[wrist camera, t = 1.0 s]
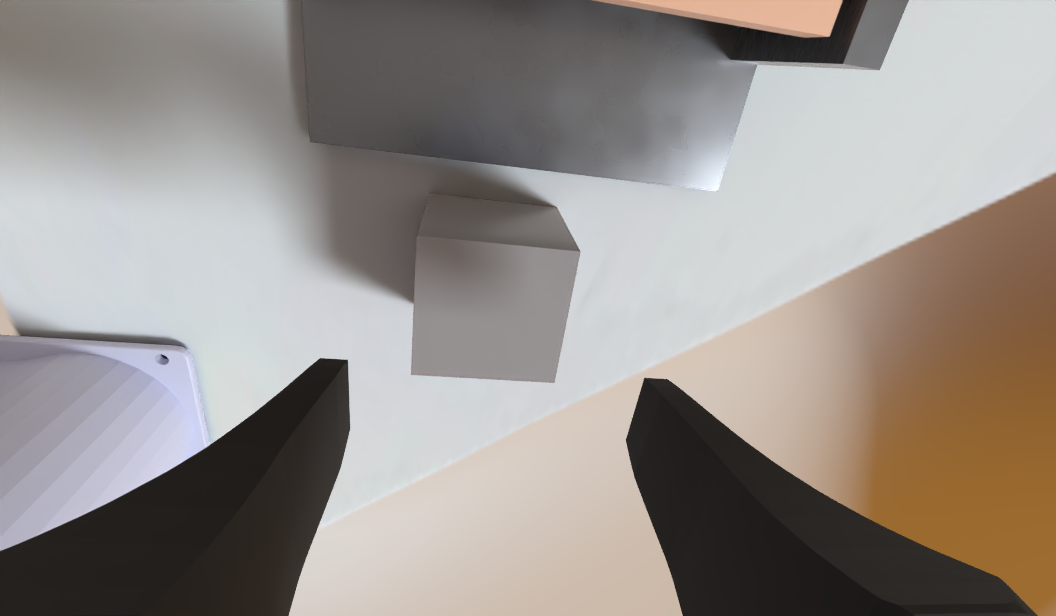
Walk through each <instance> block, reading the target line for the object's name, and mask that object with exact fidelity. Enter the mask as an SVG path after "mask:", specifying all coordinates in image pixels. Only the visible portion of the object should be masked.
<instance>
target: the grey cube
mask: <svg viewBox="0 0 1056 616" xmlns="http://www.w3.org/2000/svg"><path fill="white" fill-rule="evenodd" d="M579 256H580V250H579V248H578V246H577V244H576V242H575V241H574V239H573V237H572V235H571V233H570V231H569V229H568V227H567V226H566V224H565V222H564V220H563V218H562V216H561V214H560V212H559V211H558V209H557V207H549V206H540V205H531V204H522V203H513V202H504V201H495V200H486V199H477V198H468V197H460V196H451V195H442V194H433V193H430V194H429V197H428V200H427V203H426V206H425V210H424V213H423V216H422V219H421V222H420V226H419V229H418V232H417V235H416V258H415V285H414V312H413V338H412V365H411V375H425V376H442V377H460V378H478V379H496V380H513V381H531V382H549V383H554V382H555V377H556V372H557V367H558V362H559V357H560V352H561V347H562V342H563V337H564V332H565V327H566V322H567V317H568V312H569V307H570V302H571V297H572V291H573V286H574V281H575V276H576V271H577V266H578V261H579Z"/></svg>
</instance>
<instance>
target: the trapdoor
mask: <svg viewBox="0 0 1056 616" xmlns="http://www.w3.org/2000/svg"><path fill="white" fill-rule="evenodd" d="M593 1H599V2H605V3H610V4H616V5H622V6H627V7H633V8H639V9H644V10H650V11H656V12H661V13H667V14H673V15H678V16H684V17H690V18H695V19H701V20H707V21H712V22H718V23H724V24H729V25H735V26H741V27H746V28H752V29H758V30H764V31H769V32H775V33H781V34H786V35H792V36H798V37H803V38H809V37H830V34H831V31H832V28H833V26H834V23H835V20H836V17H837V15H838V12H839V9H840V6H841V4H842V1H843V0H593Z"/></svg>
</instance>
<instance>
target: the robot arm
mask: <svg viewBox="0 0 1056 616" xmlns="http://www.w3.org/2000/svg"><path fill="white" fill-rule="evenodd" d="M160 354H162V355H165V356H166V357H167V358H168V359H169V360H167V359H164V358H163V357H162V356H161V355H160ZM349 431H350V413H349V382H348V360H340V359H324V358H320V359H319V360H317V361H316V362H315V363H314V364H313V365H311V366H310V367H309V368H308V369H307V370H305V371H304V372H303V373H302V374H301V375H300V376H298V377H297V378H296V379H295V380H294V381H293V382H291V383H290V384H289V385H288V386H287V387H286V388H284V389H283V390H282V391H281V392H280V393H278V394H277V395H276V396H275V397H273V398H272V399H271V400H270V401H268V402H267V403H266V404H265V405H264V406H262V407H261V408H260V409H259V410H257V411H256V412H255V413H254V414H252V415H251V416H250V417H248V418H247V419H246V420H244V421H243V422H241V423H240V424H239V425H237V426H236V427H235V428H233V429H232V430H231V431H229V432H228V433H226V434H225V435H224V436H222V437H221V438H219V439H218V440H217V441H215V442H214V443H212V444H211V445H210V441H209V436H208V431H207V426H206V421H205V416H204V411H203V407H202V402H201V397H200V392H199V387H198V382H197V377H196V372H195V367H194V362H193V357H192V355H191V353H190V352H189V351H188V350H187V349H186V348H184V347H181V346H173V345H157V344H140V343H124V342H108V341H91V340H75V339H58V338H42V337H25V336H9V335H0V616H288V615H289V612H290V608H291V605H292V601H293V598H294V594H295V590H296V587H297V583H298V580H299V576H300V574H301V571H302V568H303V565H304V562H305V559H306V557H307V554H308V551H309V549H310V546H311V544H312V541H313V538H314V536H315V533H316V531H317V528H318V526H319V523H320V520H321V518H322V515H323V513H324V510H325V507H326V505H327V502H328V500H329V497H330V494H331V492H332V489H333V486H334V484H335V481H336V479H337V476H338V473H339V470H340V468H341V464H342V460H343V456H344V452H345V448H346V444H347V439H348V435H349ZM626 443H627V447H628V451H629V456H630V461H631V465H632V469H633V472H634V477H635V479H636V482H637V485H638V488H639V490H640V493H641V496H642V498H643V501H644V503H645V506H646V509H647V511H648V514H649V517H650V519H651V522H652V524H653V527H654V529H655V532H656V534H657V537H658V540H659V542H660V545H661V548H662V550H663V553H664V555H665V558H666V561H667V564H668V567H669V569H670V572H671V575H672V578H673V581H674V585H675V589H676V592H677V596H678V600H679V603H680V607H681V611H682V614H683V616H1037V615H1036V614H1035V613H1034V612H1033V611H1032V610H1031V608H1029V606H1027V605H1026V603H1025V602H1024V601H1023V600H1022V599H1021V598H1020V597H1019V596H1018V595H1017V594H1016V593H1015V592H1014V591H1013V590H1012V589H1011V588H1010V587H1009V586H1008V585H1007V584H1006V583H1005V582H1003V581H1002V580H1001V579H1000V578H999V577H997V576H994V575H992V574H990V573H987V572H984V571H982V570H980V569H978V568H975V567H973V566H970V565H968V564H965V563H963V562H961V561H958V560H956V559H953V558H951V557H949V556H946V555H944V554H941V553H939V552H937V551H934V550H932V549H930V548H927V547H925V546H923V545H921V544H919V543H917V542H915V541H913V540H910V539H908V538H906V537H904V536H902V535H900V534H898V533H896V532H894V531H891V530H889V529H887V528H885V527H883V526H881V525H879V524H877V523H875V522H873V521H872V520H869V519H868V518H866V517H864V516H862V515H860V514H858V513H856V512H855V511H853V510H851V509H849V508H847V507H846V506H844V505H842V504H840V503H838V502H837V501H834V500H833V499H831V498H829V497H828V496H826V495H824V494H823V493H821V492H819V491H817V490H816V489H814V488H812V487H811V486H810V485H808V484H806V483H805V482H803V481H802V480H800V479H799V478H797V477H795V476H794V475H792V474H791V473H789V472H787V471H786V470H785V469H783V468H782V467H780V466H779V465H777V464H776V463H774V462H773V461H771V460H770V459H769V458H767V457H766V456H765V455H763V454H762V453H760V452H759V451H758V450H756V449H755V448H754V447H752V446H751V445H749V444H748V443H747V442H745V441H744V440H743V439H742V438H740V437H739V436H738V435H736V434H735V433H734V432H733V431H731V430H730V429H729V428H728V427H726V426H725V425H724V424H723V423H721V422H720V421H719V420H718V419H716V418H715V417H714V416H713V415H712V414H710V413H709V412H708V411H707V410H706V409H704V408H703V407H702V406H701V405H700V404H698V403H697V402H696V401H695V400H693V399H692V398H691V397H690V396H688V395H687V394H686V393H685V392H684V391H682V390H681V389H680V388H679V387H677V386H676V385H674V384H673V383H672V382H670V381H669V380H667V379H653V378H644V381H643V385H642V388H641V392H640V395H639V398H638V402H637V405H636V409H635V412H634V415H633V418H632V422H631V425H630V428H629V432H628V435H627V438H626Z"/></svg>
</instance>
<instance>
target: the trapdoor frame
mask: <svg viewBox="0 0 1056 616" xmlns="http://www.w3.org/2000/svg"><path fill="white" fill-rule="evenodd" d="M908 1H909V0H843V1H842V4H841V6H840V9H839V12H838V15H837V17H836V20H835V23H834V26H833V28H832V31H831V34H830V37H809V38H803V37H798V36H792V35H786V34H781V33H775V32H769V31H764V30H758V29H752V28H746V27H741V26H735V25H729V24H724V23H718V22H712V21H707V20H701V19H695V18H690V17H684V16H678V15H673V14H667V13H661V12H656V11H650V10H644V9H639V8H633V7H627V6H622V5H616V4H610V3H605V2H599V1H593V0H301V4H302V20H303V37H304V53H305V70H306V86H307V103H308V119H309V135H310V142H315V143H323V144H331V145H339V146H348V147H356V148H364V149H372V150H381V151H389V152H397V153H405V154H413V155H422V156H430V157H438V158H446V159H455V160H463V161H471V162H479V163H487V164H496V165H504V166H512V167H520V168H529V169H537V170H545V171H553V172H561V173H570V174H578V175H586V176H594V177H603V178H611V179H619V180H627V181H635V182H644V183H652V184H660V185H668V186H677V187H685V188H693V189H701V190H710V191H718V188H719V185H720V182H721V178H722V175H723V172H724V169H725V166H726V162H727V159H728V156H729V153H730V150H731V146H732V143H733V140H734V137H735V134H736V130H737V127H738V124H739V121H740V118H741V114H742V111H743V108H744V105H745V102H746V99H747V95H748V92H749V89H750V86H751V83H752V79H753V76H754V73H755V70H756V67H757V65H778V66H800V67H821V68H843V69H865V70H880V68H881V66H882V63H883V61H884V58H885V56H886V54H887V51H888V49H889V46H890V44H891V42H892V39H893V37H894V34H895V32H896V30H897V27H898V25H899V22H900V20H901V18H902V15H903V13H904V10H905V8H906V6H907V3H908Z"/></svg>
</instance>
